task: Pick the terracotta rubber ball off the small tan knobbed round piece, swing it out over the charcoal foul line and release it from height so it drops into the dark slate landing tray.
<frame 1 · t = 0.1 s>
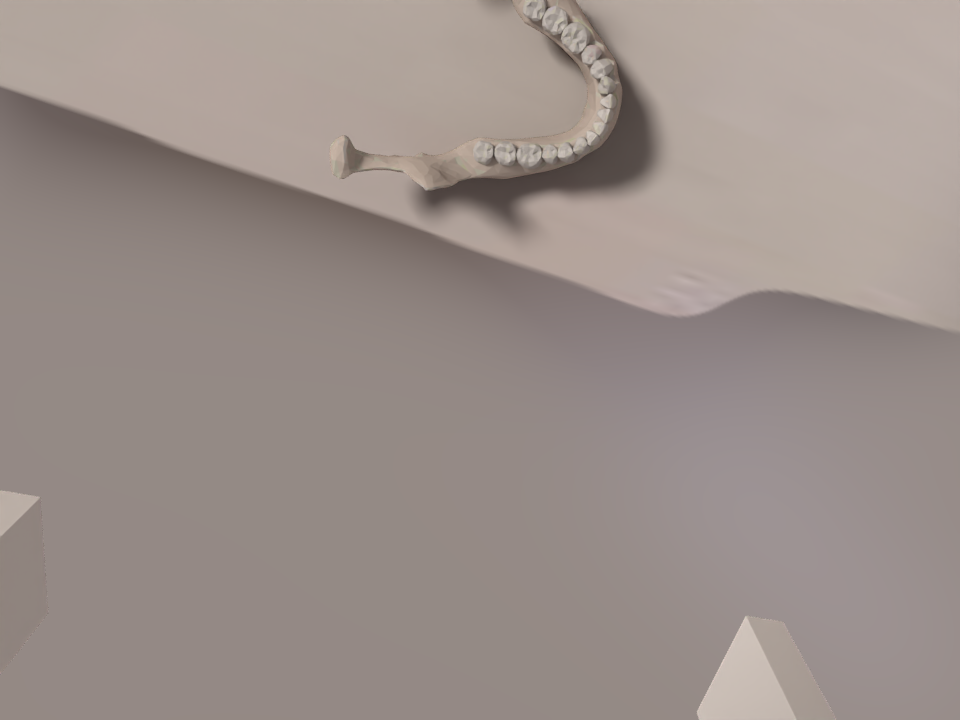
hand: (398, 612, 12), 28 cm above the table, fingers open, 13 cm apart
anatomical model: (496, 77, 35), on the table
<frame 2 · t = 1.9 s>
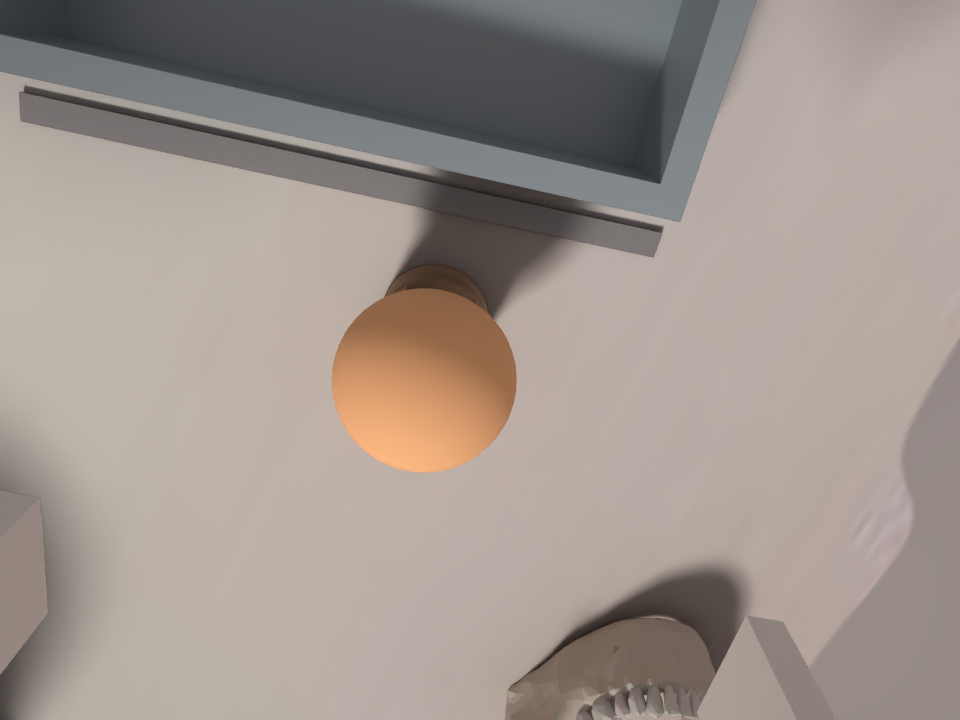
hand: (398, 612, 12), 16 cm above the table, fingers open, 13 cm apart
anatomical model: (617, 687, 37), on the table
ball: (430, 344, 24), point 3 cm above the table, touching tan knobbed round piece
foul line: (354, 178, 25), on the table
tan knobbed round piece: (434, 316, 27), on the table
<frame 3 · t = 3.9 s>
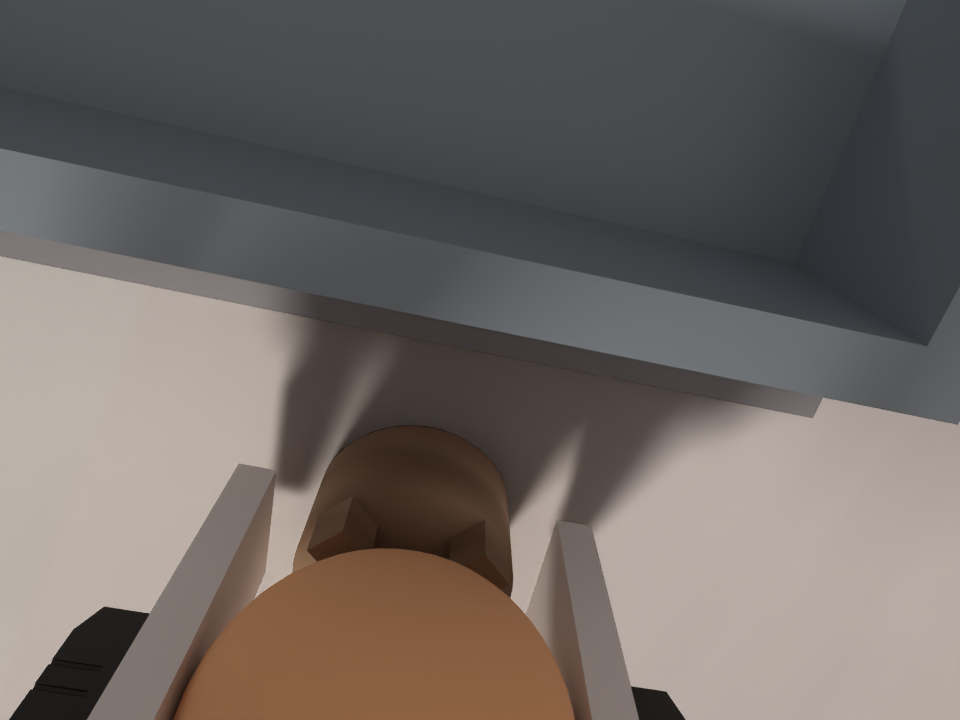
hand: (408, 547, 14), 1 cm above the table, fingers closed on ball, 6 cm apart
ball: (399, 606, 13), point 3 cm above the table, touching gripper, tan knobbed round piece
foul line: (257, 279, 13), on the table
tan knobbed round piece: (413, 507, 15), on the table
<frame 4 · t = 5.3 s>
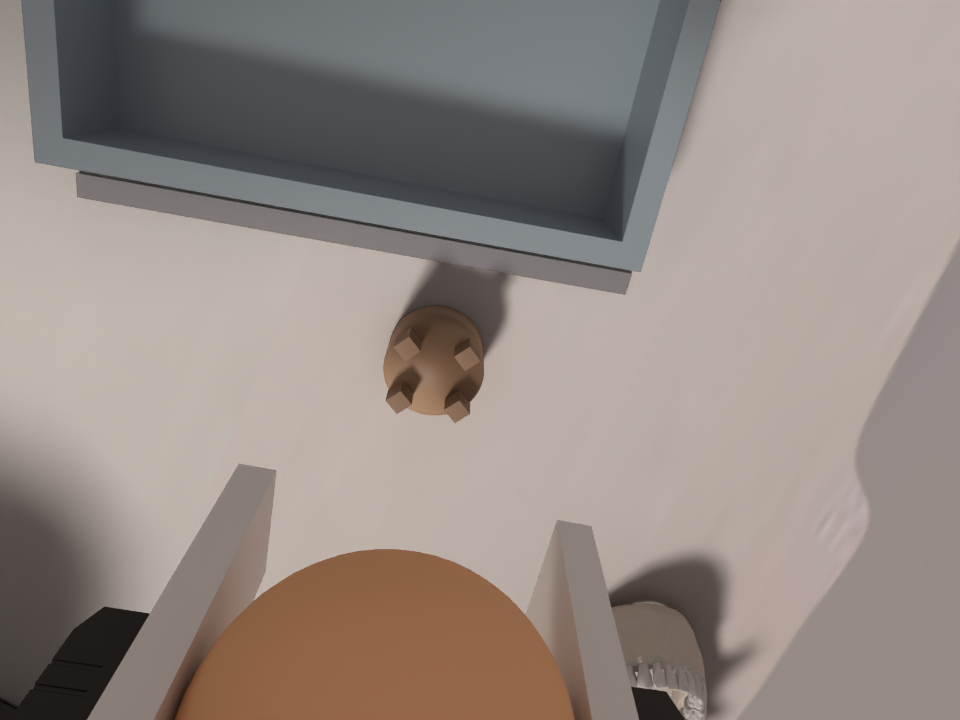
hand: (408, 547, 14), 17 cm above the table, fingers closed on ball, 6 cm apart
anatomical model: (614, 668, 40), on the table
ball: (400, 606, 13), point 19 cm above the table, touching gripper
landing tray: (390, 1, 25), on the table
foul line: (363, 235, 29), on the table
tan knobbed round piece: (436, 349, 31), on the table
when the fingers open (8 cm above the table, at t = 6.7 s): ball drops 9 cm, resting on landing tray.
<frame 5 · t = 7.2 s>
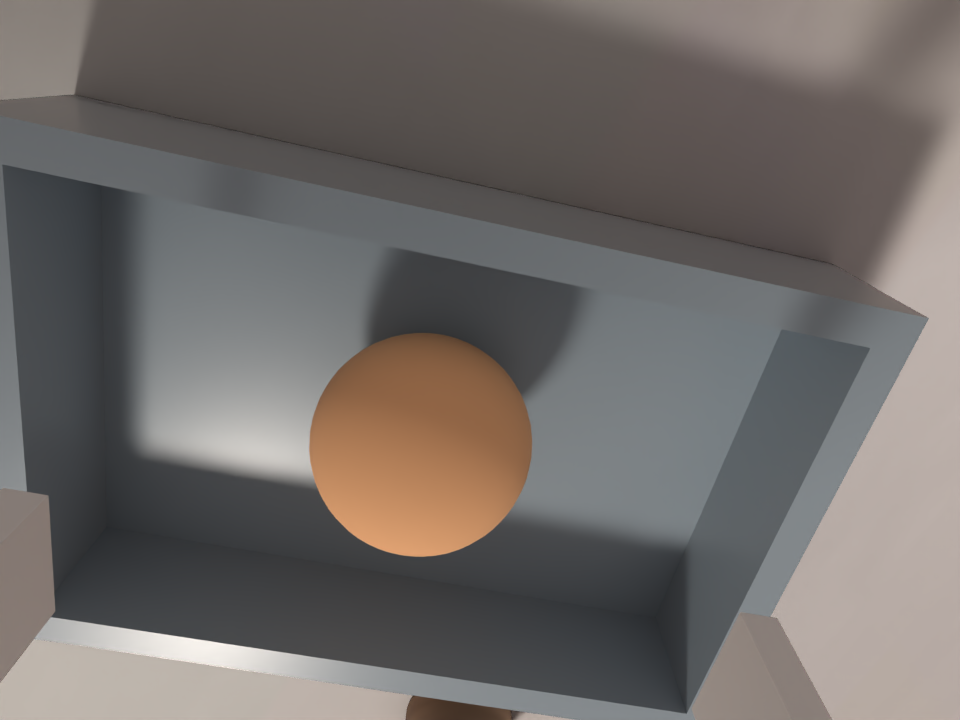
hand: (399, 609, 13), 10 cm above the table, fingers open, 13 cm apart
ball: (429, 392, 21), point 1 cm above the table, touching landing tray
landing tray: (425, 411, 22), on the table
tan knobbed round piece: (458, 715, 28), on the table
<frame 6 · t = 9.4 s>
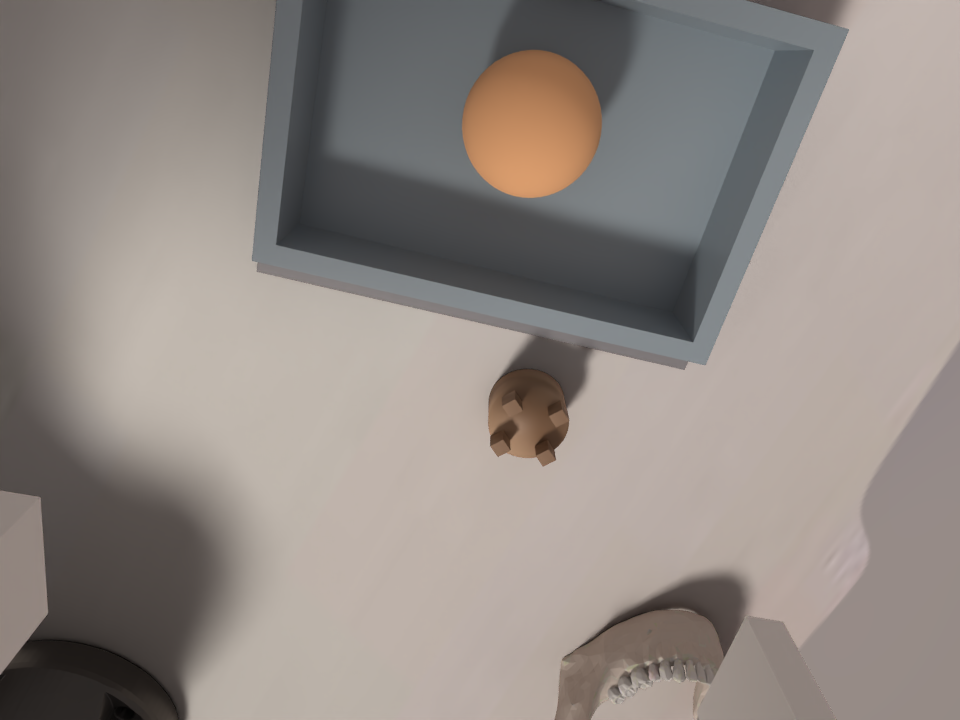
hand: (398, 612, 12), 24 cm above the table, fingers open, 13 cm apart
anatomical model: (646, 662, 48), on the table
ball: (528, 120, 31), point 1 cm above the table, touching landing tray
landing tray: (522, 140, 32), on the table
foul line: (478, 312, 36), on the table
tan knobbed round piece: (526, 402, 38), on the table
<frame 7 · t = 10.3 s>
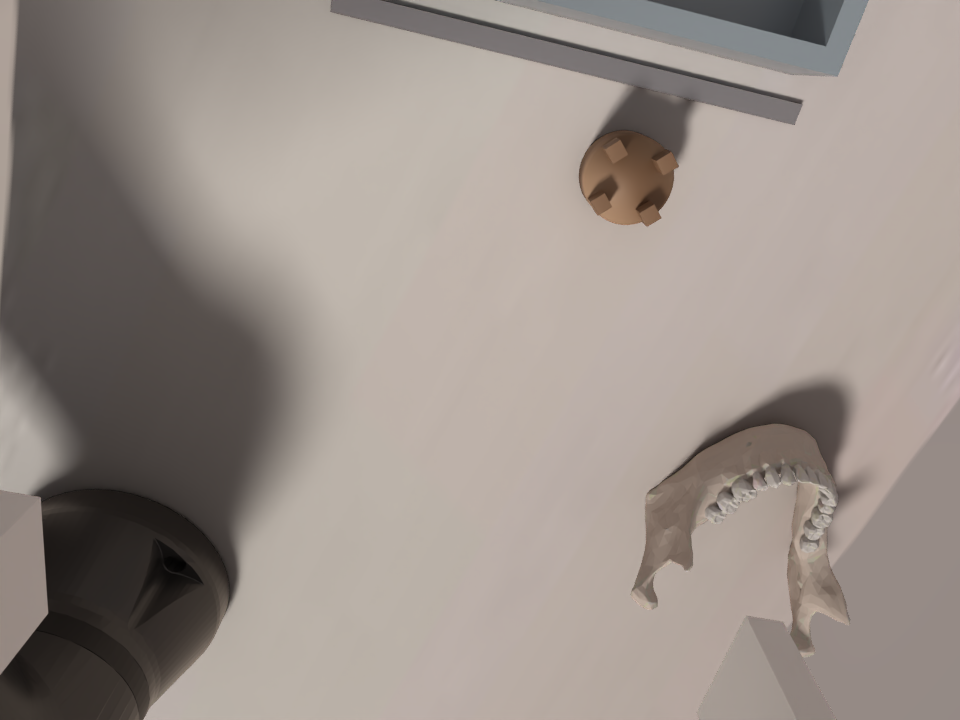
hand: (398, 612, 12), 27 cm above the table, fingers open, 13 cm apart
anatomical model: (736, 496, 44), on the table
foul line: (572, 59, 33), on the table
tan knobbed round piece: (620, 173, 35), on the table
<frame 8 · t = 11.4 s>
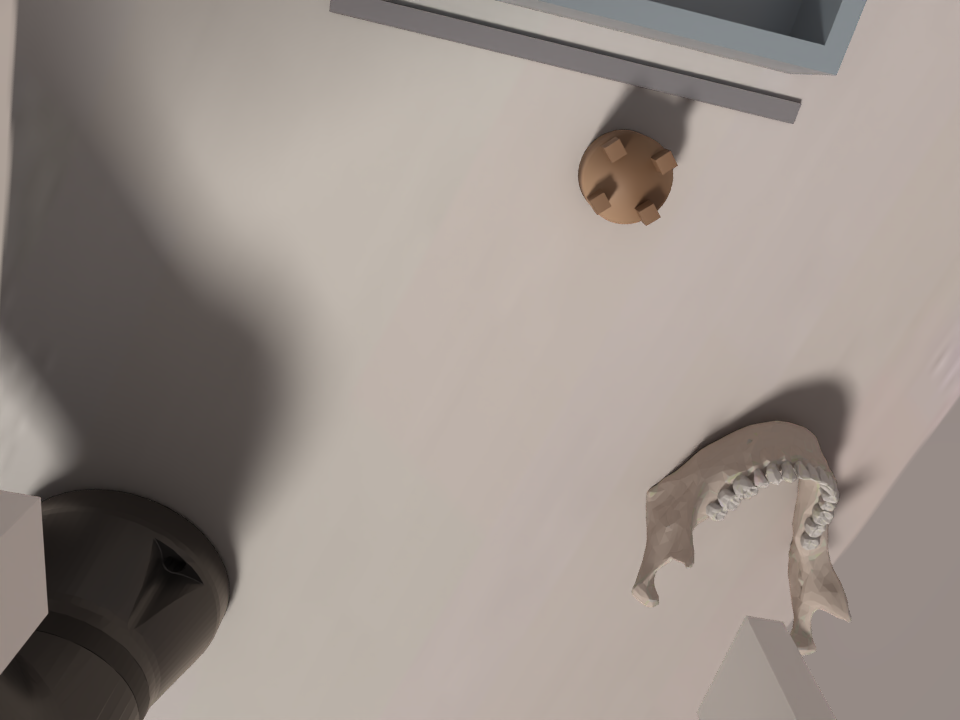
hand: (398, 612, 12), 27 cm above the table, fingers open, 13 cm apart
anatomical model: (736, 493, 44), on the table
foul line: (571, 58, 33), on the table
tan knobbed round piece: (619, 173, 35), on the table
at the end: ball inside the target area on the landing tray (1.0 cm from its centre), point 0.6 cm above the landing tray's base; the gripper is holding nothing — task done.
